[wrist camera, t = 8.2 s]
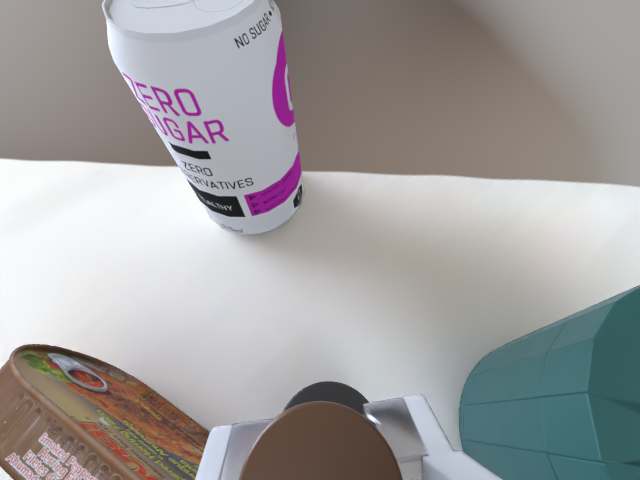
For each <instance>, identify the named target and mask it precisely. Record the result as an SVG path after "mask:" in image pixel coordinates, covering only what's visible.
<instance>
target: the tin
mask: <svg viewBox="0 0 640 480" xmlns="http://www.w3.org/2000/svg"><path fill="white" fill-rule="evenodd" d="M209 433H210V432H208V431H207V430H206V429H204V428H203V427H202V426H200V425H199V424H197V423H196V422H195V421H193V420H192V419H191V418H189V417H188V416H187V415H185V414H184V413H183V412H181V411H180V410H179V409H177V408H176V407H175V406H174V405H172V404H171V403H170V402H168V401H167V400H166V399H164V398H163V397H161V396H160V395H159V394H158V393H156V392H155V391H154V390H152V389H151V388H149V387H148V386H147V385H145V384H144V383H142V382H141V381H139V380H138V379H136V378H135V377H133V376H131V375H129V374H127V373H126V372H124V371H122V370H120V369H118V368H116V367H114V366H112V365H110V364H108V363H106V362H103V361H101V360H99V359H96V358H93V357H91V356H88V355H85V354H82V353H79V352H75V351H72V350H69V349H65V348H61V347H57V346H50V345H40V344H37V345H36V344H31V345H30V344H28V345H23V346H20V347H18V348H17V349H15V350H14V351H13V352H12V354H11V355H10V358H9V360H8V361H7V362H6V363H5V365H4V366H3V367H2V368H1V369H0V466H1V467H2V468H3V470H4V471H5V472H6V473H8V474H9V475H10V477H11V478H13V479H14V480H195V478H196V475H197V472H198V469H199V465H200V462H201V459H202V456H203V453H204V449H205V446H206V443H207V440H208V437H209Z"/></svg>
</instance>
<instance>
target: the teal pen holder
mask: <svg viewBox="0 0 640 480" xmlns="http://www.w3.org/2000/svg"><path fill="white" fill-rule="evenodd" d="M459 427H460V437H461V442H462V447H463V451H464V453H465V454H467V455H468V456H469V457H471V458H472V459H474V460H475V461H477V462H478V463H480V464H481V465H482V466H484V467H485V468H487V469H488V470H490V471H491V472H492V473H494V474H495V475H497V476H498V477H500V478H501V479H502V480H640V285H639V286H636V287H634V288H632V289H630V290H627V291H625V292H623V293H620V294H618V295H616V296H614V297H611V298H609V299H607V300H605V301H602V302H600V303H598V304H596V305H593V306H591V307H589V308H586V309H584V310H582V311H580V312H577V313H575V314H573V315H570V316H568V317H566V318H564V319H561V320H559V321H557V322H554V323H552V324H550V325H548V326H545V327H543V328H541V329H538V330H536V331H534V332H532V333H529V334H527V335H525V336H523V337H520V338H518V339H516V340H513V341H511V342H509V343H507V344H505V345H504V346H502V347H500V348H498V349H496V350H494V351H492V352H490V353H489V354H488V355H486V356H485V357H484V358H483V359H482V360H481V361H480V362H479V363H478V364H477V365H476V366H475V367H474V369H473V370H472V372H471V373H470V375H469V377H468V379H467V381H466V383H465V386H464V389H463V392H462V396H461V402H460V408H459Z"/></svg>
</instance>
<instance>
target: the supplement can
mask: <svg viewBox="0 0 640 480" xmlns="http://www.w3.org/2000/svg"><path fill="white" fill-rule="evenodd" d="M102 9H103V12H104V14H105V17H106V19H107V32H108V45H109V48H110V51H111V54H112V58H113V60H114V62H115V64H116V66H117V67H118V69H119V70H120V72H121V74H122V75H123V76H124V79H125V80H126V82H127V83H128V85H129V87H130V88H131V90H132V91H133V93H134V95H135V96H136V98H137V100H138V101H139V103H140V104H141V106H142V108H143V109H144V111H145V112H146V114H147V116H148V117H149V119H150V121H151V122H152V124H153V125H154V127H155V129H156V130H157V132H158V134H159V135H160V137H161V138H162V140H163V142H164V143H165V145H166V146H167V148H168V150H169V151H170V153H171V154H172V156H173V158H174V159H175V161H176V162H177V164H178V166H179V168H180V169H181V171H182V172H183V174H184V176H185V177H186V179H187V180H188V182H189V184H190V185H191V187H192V189H193V190H194V192H195V193H196V195H197V197H198V198H199V200H200V202H201V203H202V205H203V206H204V208H205V210H206V211H207V213H208V214H209V216H210V218H211V219H212V220H213V221H214V222H216V223H217V224H218V225H219V226H220V227H221V228H223V229H225V230H228V231H231V232H234V233H236V234H259V233H263V232H266V231H270V230H273V229H275V228H277V227H279V226H280V225H282V224H283V223H285V222H286V221H288V220H290V218H291V217H292V216H293V215H294V213H295V212H296V211H297V210H298V208H299V207H300V205H301V201H302V198H303V195H304V187H303V180H302V172H301V165H300V158H299V150H298V143H297V135H296V128H295V120H294V113H293V106H292V98H291V91H290V83H289V76H288V69H287V61H286V54H285V46H284V39H283V32H282V25H281V17H280V10H279V9H278V7H277V6H276V4H275V2H274V1H273V0H104V1H103V3H102Z"/></svg>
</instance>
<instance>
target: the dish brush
mask: <svg viewBox="0 0 640 480" xmlns="http://www.w3.org/2000/svg"><path fill="white" fill-rule="evenodd" d="M366 403H369V402H368V400H367V399H366V398H365V397H364V396H363V395H362V394H360V393H359V392H358V391H357V390H355V389H353V388H352V387H350V386H347V385H345V384H342V383H338V382H331V381H330V382H319V383H315V384H312V385H310V386H308V387H306V388H304V389H302V390H301V391H299V392H298V393H297V394H296V395H295V396H294V397H293V398H292V399H291V400H290V401H289V403H288V404H287V405H286V407H285V409H284V410H283V412H282V413H281V414H279V415H278V416H277V417H275V418H274V419H273V420H272V421H271V422H270V423H268V425H267V426H266V427H265V428H264V429H263V430H262V431H261V432H260V434H259V435H258V437H257V438H256V439H255V441H254V442H253V444H252V446H251V448H250V450H249V452H248V454H247V456H246V458H245V461H244V463H243V466H242V469H241V473H240V476H239V480H403V478H402V474H401V471H400V468H399V465H398V462H397V460H396V457H395V455H394V453H393V451H392V449H391V447H390V446H389V444H388V442H387V441H386V439H385V438H384V436H383V435H382V434H381V432H380V431H379V430H378V429H377V428H376V427H375V426H374V425H373V424H372V423H371V422H370V421H369V420H368V419H367V418H365V417H364V415H363V404H366Z"/></svg>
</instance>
